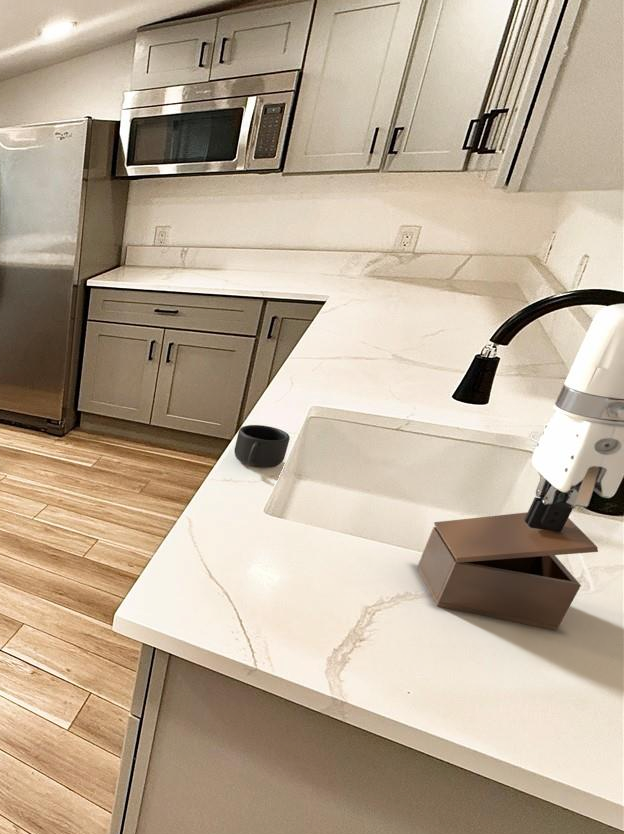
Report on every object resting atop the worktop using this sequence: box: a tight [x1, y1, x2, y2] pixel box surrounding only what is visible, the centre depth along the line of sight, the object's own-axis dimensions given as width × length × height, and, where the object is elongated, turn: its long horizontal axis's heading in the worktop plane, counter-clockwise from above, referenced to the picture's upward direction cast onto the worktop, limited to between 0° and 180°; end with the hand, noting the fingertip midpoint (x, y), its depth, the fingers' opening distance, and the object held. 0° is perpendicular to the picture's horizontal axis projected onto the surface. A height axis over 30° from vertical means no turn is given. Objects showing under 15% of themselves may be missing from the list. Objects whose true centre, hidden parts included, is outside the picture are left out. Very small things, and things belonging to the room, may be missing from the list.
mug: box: [233, 424, 291, 469], centre depth 131 cm, size 12×9×7 cm
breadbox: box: [416, 526, 582, 631], centre depth 90 cm, size 12×10×8 cm
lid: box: [433, 511, 599, 563], centre depth 87 cm, size 13×10×1 cm
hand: (541, 526), depth 85 cm, fingers closed
